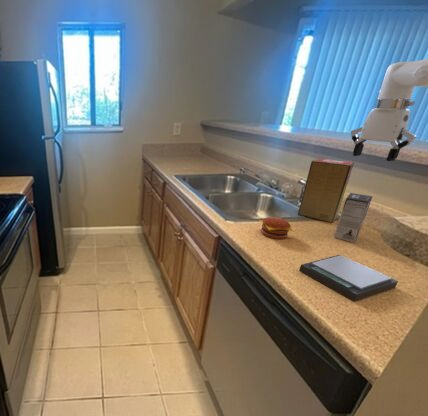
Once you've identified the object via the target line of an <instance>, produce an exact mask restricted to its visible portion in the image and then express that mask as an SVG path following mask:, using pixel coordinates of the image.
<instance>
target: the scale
mask: <svg viewBox="0 0 428 416" xmlns="http://www.w3.org/2000/svg"><path fill="white" fill-rule="evenodd" d="M299 272H301V273H303V274H304V275H306V276H308V277H310V278H311V279H314V280H315V281H317V282H319V283H320V284H322V285H324V286H326V287H328V288H330V289H331V290H333V291H334V292H337V293H338V294H340V295H342V296H344V297H345V298H347V299H349V300H351V301H353V302H357V301H361V300H364V299H366V298H370V297H372V296H375V295H378V294H382V293H384V292H387V291H390V290H392V288H393V289H396V288H397V284H398V283H399V280H397V279H394V278H393V277H390V276H389V275H387V274H384V273H382V272H380V271H377V270H375V269H373V268H371V267H368V266H366V265H364V264H362V263H359V262H357V261H355V260H353V259H350V258H348V257H346V256H344V255H341V254H337V255H333V256H330V257H329V256H328V257H325V258H321V259H318V260H313V261H310V262H305V263H302V264H300V266H299Z"/></svg>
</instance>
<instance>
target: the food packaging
mask: <svg viewBox="0 0 428 416" xmlns="http://www.w3.org/2000/svg"><path fill="white" fill-rule="evenodd" d="M354 164H355V162H354V161H345V160H335V159H328V158H327V159H325V158H320V157H319V158H318V157H317V158H315V159H313V160H311V162H310V166H309V169H308V170H309V171H308V173H307V177H306V182H305V186H304V189H303V193H302V197H301V200H300V204H299V207H298V211H297V215H298V216H301V217H306V218H310V219H314V218H315V219H314V220H319V219H320V221H323V222H327V223H331V224H332V223H334V222H335V220H336V219H337V218H338V215H339V212H340V208H341V206H342V203H343V199H344V196H345V193H346V190H347V187H348V183H349V181H350V179H351V174H352V171H353V168H354Z"/></svg>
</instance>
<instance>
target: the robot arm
mask: <svg viewBox="0 0 428 416" xmlns="http://www.w3.org/2000/svg"><path fill="white" fill-rule="evenodd" d="M416 87H418V88H419V87H420V88H428V58H423V59H419V60H412V61H410V60H409V61H399V62H395V63H394V62H393V63H391V64H390V65H389V66H388V67H387V69H386V72H385V75H384V77H383V81H382V83H381V87H380V89H379V93H378V95H377V99H376V102H375V105H374V107H373V108H372V109H371V110H370V111H369V113H368V114H367V116H366V119H365V121H364V123H363V125H362V127H358V128H356V129H355V128H354V129H352V130H350V135H351V140H352V142H353V144H354V148H353V151H352V156H353V157H358V156H362V153H363V149H364V148H365V147H364V146H365V144H364V143H365V142H367V141H373V142H374V141H375V142H383V143H384V142H385V143H390V145H391V146H392V148H390V149H389V151H388V154H387V157H386V159H385V160H386V161H387V162H394V161H395V160H396V159H397V158H398V156H399V154H400V151H401V149H403V148H404V147H406V146H409V145H410V144H412V142H413V141H414V140H416V139H417V138H418V137H417V136H418V135H416V134H414V133H413V132H411V131H409V130H407V129H408V126H409V121H410V115H411V110H410V109H408V108H409V107H414V105H415V103H416V101H415V100H412V99H411V98H412V96H413V93H414V90H415V88H416ZM359 133H360V134H359ZM358 134H359V135H358ZM405 137H406V139H404V138H405Z"/></svg>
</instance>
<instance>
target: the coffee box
mask: <svg viewBox="0 0 428 416" xmlns="http://www.w3.org/2000/svg"><path fill="white" fill-rule="evenodd" d="M372 199H373V195H367V194H361V193H355V192H353V193H352V192H350V193H349V194H348V195H347V197H346V198H345V200H344V204H343V207H342V210H341V213H340V216H339V218H338V219H339V220H338V222H337V226H336V229H335V232H334V235H333V238H335V239H339V240H342V241H346V242H350V243H356V241H357V239H358V238H359V235H360V233H361V229H362V227H363V224H364V222H365V218H366V216H367V214H368V211H369V208H370V205H371V202H372Z"/></svg>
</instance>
